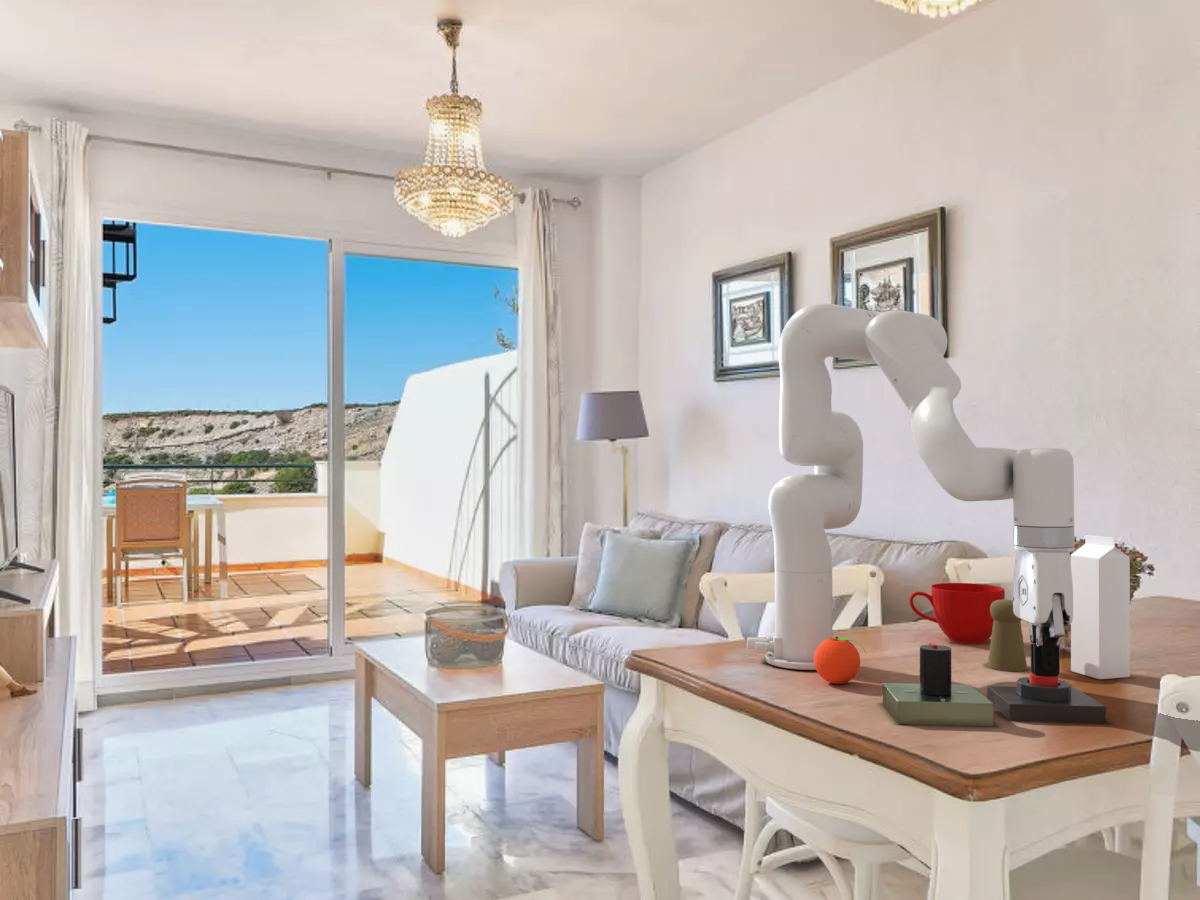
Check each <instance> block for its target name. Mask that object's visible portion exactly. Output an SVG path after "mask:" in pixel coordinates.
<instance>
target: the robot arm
mask: <svg viewBox="0 0 1200 900" xmlns="http://www.w3.org/2000/svg"><path fill="white" fill-rule="evenodd" d="M779 337H780V338H779V342H778V365H779V379H780V380H779V381H780V382H779V383H780V384H779V385H780V386H779V387H780V389H779V391H780V392H779V413H778V414H779V416H778V447H779V448H778V449H779V453H780V454H781V457H782V458H783V460H785V461H786V462H787V463H789V464H790V465H791V464H792V465H793V466H794V465H795V466H799V467H800V466H801V467H814V473H799V474H793V475H789V476H786V477H783V478H781V479H780V480H778V482H777V483H775V485H773V487H772V489H771V490H770V493H769V496H768V504H767V505H768V515H769V520H770V524H771V525H770V526H771V530H772V539H773V555H774V556H773V562H774V565H773V566H774V567H773V569H774V631H772V632H771V635H766V636H765V637H764V638H763V637H747V638H746V639H747V640H746V645H747V646H746V648H747V650H755V651H766V653H765V662H766V663H767V664H768V665H772V666H773V667H777V668H783V669H788V670H798V671H799V670H800V671H817V670H816V668H815V665H814V654H815V651H816V649H817V647H818V646H819V645H820V644H821V643H822V642H823V641H825V640H826V639H829V638H833V556H832V549H831V546H830V543H829V542H830V541H829V540H828V537H827V534H826V530H832V529H833V530H836V529H841V528H844V527H848V526H849V525H851V524H852V523H853V522H854V521H855V520H856V518H857V517H858V515H859V512H860V510H861V506H862V500H863V499H862V498H863V474H864V473H863V471H864V441H863V435H862V432H861V429H860V427H859V425H858V423H857V422H856V421H855V419H854V418H852V417H851V416H850V415H849V414H847V413H844V412H841V411H837V410H836V411H835V410H833V409H832V408H833V407H832V395H833V385H832V379H831V374H830V371H829V370H828V367H827V365H826V362H825V360H826V359H827V358H829V357H831V358H837V359H847V360H853V361H854V360H855V361H863V362H871V363H876V365H878V368H879V369H880V370H881V371H882V373H883V374H884V376H885V377H886V379H887V380H888V382H889V383H890V384H891V386H892V387H893V389H894V391H896V394H897V395H898V396H899V398H900V399H901V401H902V402H903V404H904V405H905V407H906V409H907V410H908V412H909V417H910V418H909V423H910V431H911V435H912V439H913V443H914V446H915V448H916V449H915V450H916V451H917V452H918V455H919V456H920V458H921V460H922V461H923V463H924V465H925V466H926V468H927V469H928V470H929V472H930V473H931V475H932V476H933V478H934V479H935V480H936V482H937V483H938V484H939V485H940V487H941V488H942V489H943V490H944V491H945V492H946V493H947V494H948V495H949V496H951V497H953V498H955V500H959V501H962V502H986V501H987V502H989V501H991V502H992V501H993V502H994V501H1004V500H1005V501H1006V500H1012V515H1013V519H1012V520H1013V521H1012V522H1013V550H1015V551H1016V553H1015V559H1014V569H1013V594H1012V600H1013V612H1014V614H1015V615H1016V616H1017V617H1018V618H1020V619H1021V621H1024V622H1025V623H1026V624H1027V625H1028V630H1029V641H1030V672H1032V673H1033V674H1035V675H1037V676H1058V677H1059V676H1060V675H1061V670H1060V669H1061V668H1060V667H1061V666H1060V648H1061V638H1063V637H1065V627H1069V626H1071V623H1072V621H1073V583H1072V570H1071V554H1070V552H1071V553H1073V552H1075V551H1076V550H1075V548H1076V547H1075V477H1074V476H1075V474H1074V473H1075V470H1074V468H1075V467H1074V458H1073V454H1072V453H1071V452H1070V451H1069V450H1067V449H1064V448H1050V447H1049V448H1046V447H1045V448H1024V449H1020V450H1018V449H1013V448H1012V449H1011V448H1004V447H978V446H976V444H975V443H974V442H973V440H972V439H971V438H970V437H969V435H968V434H967V433H966V431H965V430H964V428H963V426H962V425H961V424H960V422H959V420H958V418H957V415H956V412H955V410H954V400H955V399H956V397H958V395H959V393H960V391H961V389H962V382H961V378H960V377H959V376H958V374H957V373H956V371H954V368H952V366H951V365H950V363H948V361H947V359H946V358H945V357H944V356H945V353H946V352H947V348H948V335H947V331H946V330H945V328H944V326H943V325H942V323H941V322H939V320H937V319H936V318H934V317H933V316H931V315H928V314H924V313H919V312H914V311H908V310H903V309H902V310H901V309H892V310H887V311H876V310H870V309H869V310H868V309H863V308H857V307H851V306H846V305H843V304H842V305H841V304H835V303H815V304H810V305H807V306H804V307H802V308H800V309H799V310H797V311H796V312H795V313H794V314H793V315H792V316H791V317H790V318H789V319H788V321H787V322H786V323H785V325H784V326H783V329H782V331H781V334H780V336H779Z"/></svg>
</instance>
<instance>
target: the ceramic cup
mask: <svg viewBox="0 0 1200 900" xmlns="http://www.w3.org/2000/svg"><path fill="white" fill-rule="evenodd" d="M1005 595H1006V591H1005V588H1004V587H1002V586H998V585H992V584H984V583H973V582H972V583H970V582H940V583H935V584H932V585H931V586H930V594H929V593H927V592H924V591H914V592H913V593H912V594H910V596H909V599H908V601H909V602H908V603H909V606H910V608H911V610H912V611H913V613H915V614H916V615H917V616H919V617H920V618H922V619H925V620H927V621H929V622H933V623H936V624H937V625H938V626H939V628H940V630H941V631H942V632H943V633H944V635H945V636H946V637H947V638H948V640H949V641H951V642H954V643H958V644H959V643H960V644H970V645H971V644H972V645H977V644H979V645H980V644H985V643H987V642H988V640H990V639H991V636H992V629H993V622H994V619H993V618H992V616H991V613H990V606H991V604H992V602H994V601H996V600H1003V599H1006V597H1005ZM917 596H922V597H925V598H926V599H927V600H928V602H930V604H931V607H932V611H933V615H934V616H930V615H927V614H925V613H923V612H921V611H920V610H919V609H917V607H916V606H915V604H914V598H915V597H917Z"/></svg>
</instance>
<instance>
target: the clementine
mask: <svg viewBox="0 0 1200 900" xmlns="http://www.w3.org/2000/svg"><path fill="white" fill-rule="evenodd" d="M852 642H855V643H856V644H857V645H860V643H859V642H857V641H855V640H854V639H850V638H846V637H838V636H835V637H832V638H829V639H826V640H825V641H823V642H822V643H821V644H820V645H819V646H818V647H817V649H816V651H815V654H814V665H815V668H816V670H815V671H816V672H817V674H818V675H819V676H820V677H821V678H822V679H823V680H825V681H826V682H828V683H831V684H834V685H843V684H846V683H849V682H850V681H852V680H853V679H854V678H855V677H856V676H857V675H858V672H859V670H860V668H861V655H860V654H859V653H860V652H859V651H858V649H857V648H856V646H855V645H854V644H853V643H852ZM862 649H863V651H864V652H865V654H867V653H866V650H865V648H864V647H862Z"/></svg>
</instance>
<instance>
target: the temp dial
mask: <svg viewBox="0 0 1200 900" xmlns="http://www.w3.org/2000/svg"><path fill="white" fill-rule="evenodd" d="M919 684H920V692H922V693H924V694H928V695H934V696H946V695H950V694H951V693H952V692H951V684H952V648H951V647H950V646H947V645H941V644H936V642H931V641H930V642H929V644H922V645H920V646H919Z"/></svg>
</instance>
